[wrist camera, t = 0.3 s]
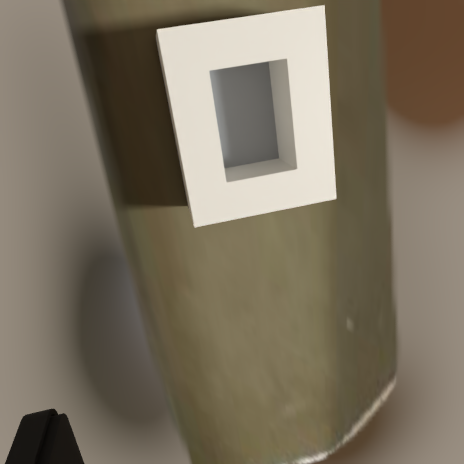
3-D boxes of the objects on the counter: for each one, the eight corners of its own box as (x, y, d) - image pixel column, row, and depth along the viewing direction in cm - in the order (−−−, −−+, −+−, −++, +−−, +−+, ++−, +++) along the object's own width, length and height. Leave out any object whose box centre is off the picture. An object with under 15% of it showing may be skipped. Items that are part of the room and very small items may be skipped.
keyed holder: (155, 37, 34) (156, 29, 28) (296, 17, 35) (324, 5, 29) (187, 206, 39) (194, 227, 33) (310, 182, 40) (336, 198, 34)
